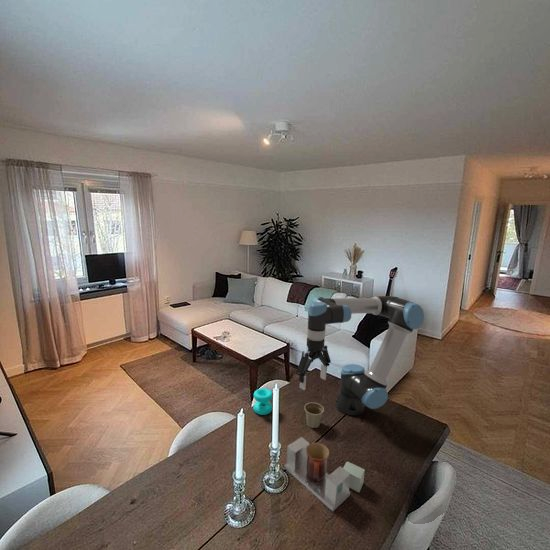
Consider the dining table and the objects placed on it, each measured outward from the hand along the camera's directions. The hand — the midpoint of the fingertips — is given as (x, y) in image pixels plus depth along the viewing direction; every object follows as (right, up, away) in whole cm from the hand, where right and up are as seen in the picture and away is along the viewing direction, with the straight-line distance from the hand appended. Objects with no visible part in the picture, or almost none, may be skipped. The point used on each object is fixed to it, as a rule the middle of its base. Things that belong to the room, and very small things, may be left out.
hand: (313, 383), depth 135 cm
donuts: (-23, -22, +24) cm, 40 cm away
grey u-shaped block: (-1, -31, -18) cm, 36 cm away
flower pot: (+2, -25, +14) cm, 29 cm away
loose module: (+13, -31, -19) cm, 39 cm away
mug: (-1, -29, -19) cm, 35 cm away
